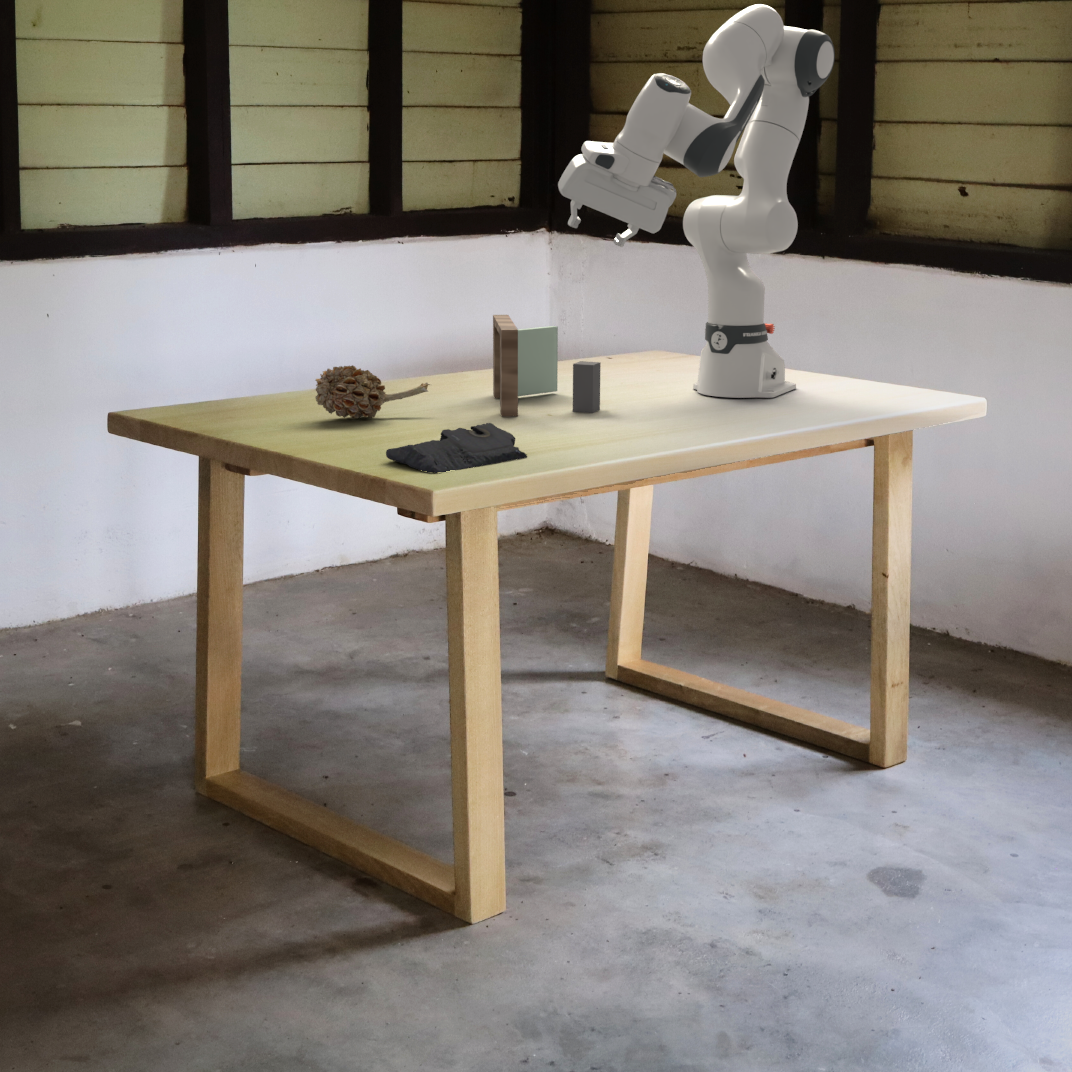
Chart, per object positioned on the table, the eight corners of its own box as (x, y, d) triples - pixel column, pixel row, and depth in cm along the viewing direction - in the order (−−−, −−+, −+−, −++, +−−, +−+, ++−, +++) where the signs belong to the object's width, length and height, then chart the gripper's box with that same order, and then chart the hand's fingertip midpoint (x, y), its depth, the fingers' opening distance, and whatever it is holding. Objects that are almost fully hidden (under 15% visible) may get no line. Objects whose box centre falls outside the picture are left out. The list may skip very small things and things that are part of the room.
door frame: (493, 395, 303) (492, 314, 299) (508, 394, 303) (508, 314, 299) (501, 416, 279) (501, 329, 275) (517, 416, 279) (517, 329, 275)
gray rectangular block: (580, 408, 289) (580, 361, 286) (599, 409, 287) (600, 362, 285) (572, 411, 285) (573, 363, 283) (592, 412, 284) (593, 365, 281)
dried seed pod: (325, 426, 269) (323, 371, 266) (307, 418, 277) (305, 364, 275) (438, 417, 279) (438, 363, 276) (418, 409, 287) (417, 356, 284)
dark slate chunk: (371, 463, 241) (370, 434, 239) (474, 445, 255) (474, 417, 254) (433, 478, 230) (432, 448, 229) (537, 458, 245) (537, 429, 244)
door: (507, 397, 297) (507, 331, 293) (498, 396, 299) (498, 330, 295) (557, 391, 305) (557, 326, 301) (548, 389, 307) (548, 325, 304)
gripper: (675, 181, 270) (640, 249, 276) (576, 138, 262) (541, 209, 268) (685, 193, 265) (649, 262, 271) (584, 149, 257) (549, 221, 263)
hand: (594, 235), depth 269 cm, fingers open, 8 cm apart
